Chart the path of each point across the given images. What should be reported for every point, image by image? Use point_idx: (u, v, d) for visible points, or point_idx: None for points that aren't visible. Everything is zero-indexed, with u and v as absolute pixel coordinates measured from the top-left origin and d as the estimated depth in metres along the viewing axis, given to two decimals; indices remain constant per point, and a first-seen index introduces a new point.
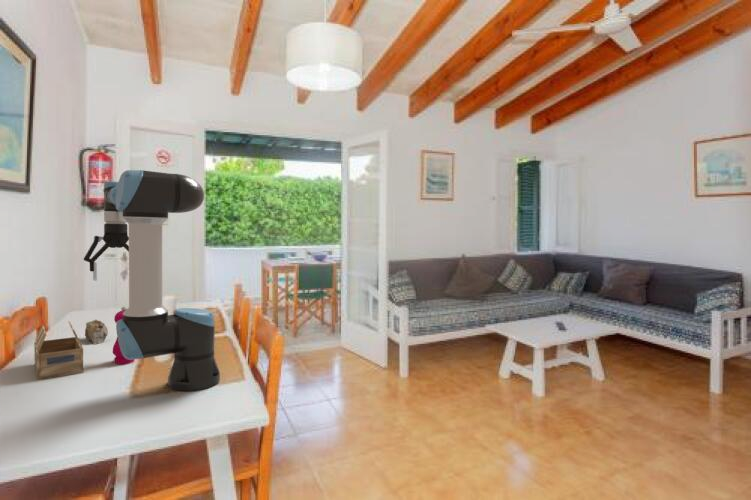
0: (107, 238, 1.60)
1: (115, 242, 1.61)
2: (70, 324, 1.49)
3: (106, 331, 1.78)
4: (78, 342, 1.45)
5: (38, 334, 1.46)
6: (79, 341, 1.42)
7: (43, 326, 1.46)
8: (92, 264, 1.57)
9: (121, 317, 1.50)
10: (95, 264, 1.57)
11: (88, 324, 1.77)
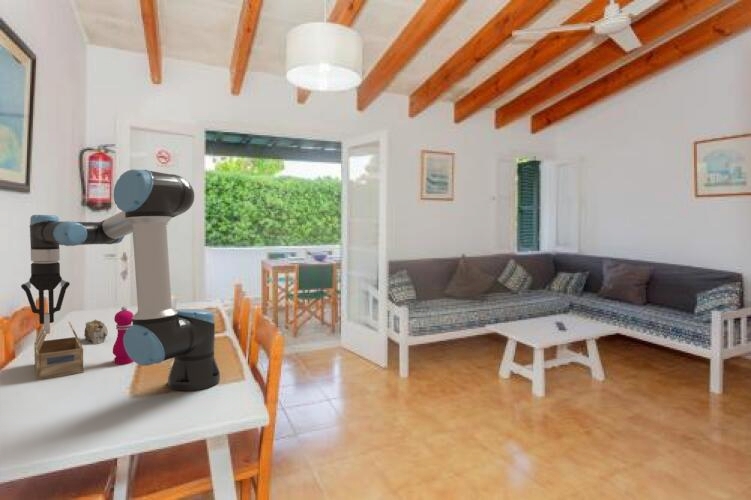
0: (34, 280, 1.39)
1: (44, 284, 1.40)
2: (70, 324, 1.49)
3: (106, 331, 1.78)
4: (78, 342, 1.45)
5: (38, 334, 1.46)
6: (79, 341, 1.42)
7: (43, 326, 1.46)
8: (42, 316, 1.41)
9: (121, 317, 1.50)
10: (45, 316, 1.41)
11: (88, 324, 1.77)
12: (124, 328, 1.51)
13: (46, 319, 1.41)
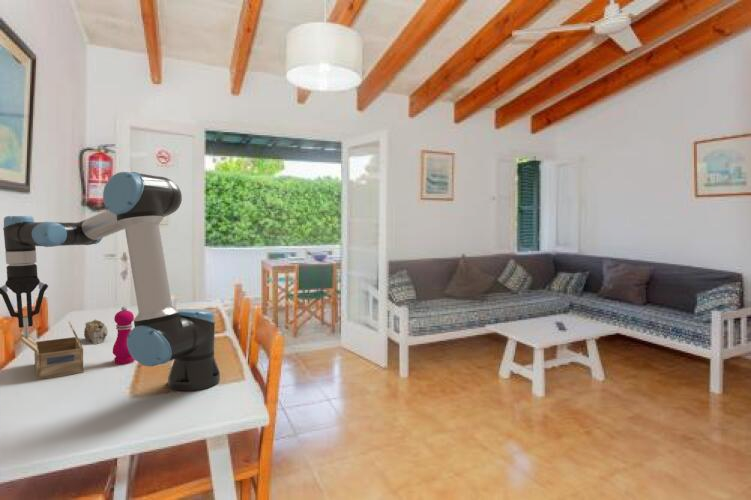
0: (10, 283, 1.35)
1: (21, 287, 1.37)
2: (70, 324, 1.49)
3: (106, 331, 1.78)
4: (78, 342, 1.45)
5: None
6: (79, 341, 1.42)
7: (21, 331, 1.42)
8: (21, 319, 1.38)
9: (121, 317, 1.50)
10: (24, 319, 1.38)
11: (88, 324, 1.76)
12: (124, 328, 1.51)
13: (24, 323, 1.38)
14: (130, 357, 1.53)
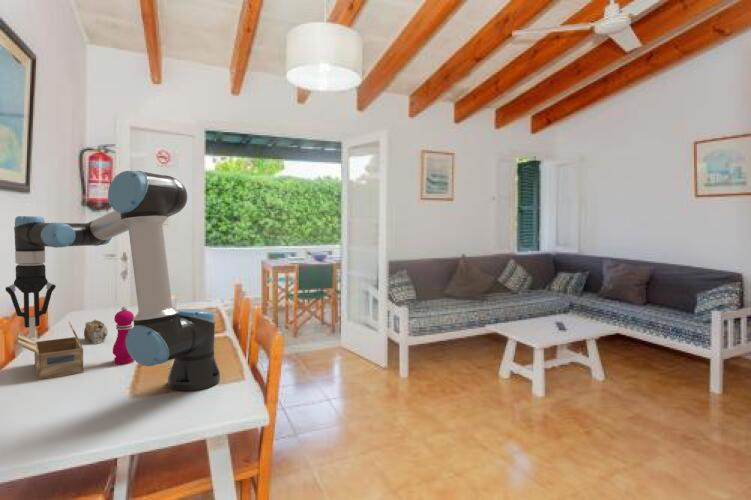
0: (19, 282, 1.36)
1: (29, 287, 1.38)
2: (70, 324, 1.49)
3: (106, 331, 1.78)
4: (78, 342, 1.45)
5: (26, 339, 1.44)
6: (79, 341, 1.42)
7: (17, 334, 1.41)
8: (27, 319, 1.38)
9: (121, 317, 1.50)
10: (30, 319, 1.38)
11: (88, 324, 1.76)
12: (124, 328, 1.51)
13: (31, 322, 1.38)
14: (130, 357, 1.53)
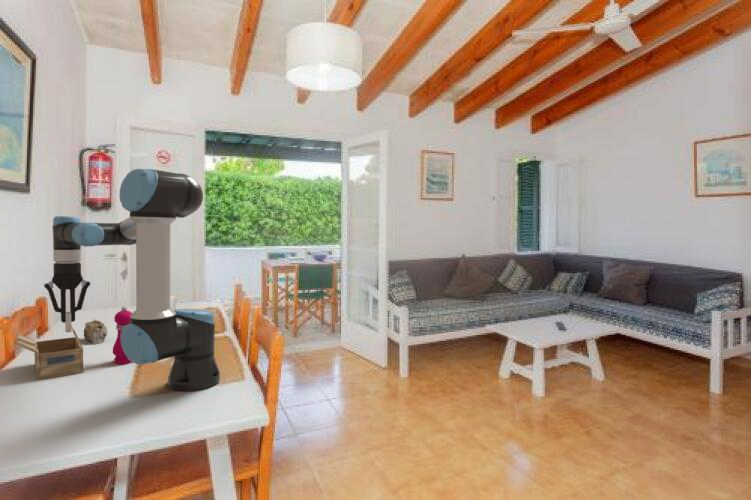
0: (57, 279, 1.42)
1: (66, 284, 1.44)
2: None
3: (106, 331, 1.78)
4: (78, 342, 1.45)
5: (26, 339, 1.44)
6: (79, 341, 1.42)
7: (17, 335, 1.41)
8: (63, 314, 1.44)
9: (121, 317, 1.50)
10: (67, 314, 1.44)
11: (87, 324, 1.76)
12: None
13: (68, 318, 1.45)
14: None
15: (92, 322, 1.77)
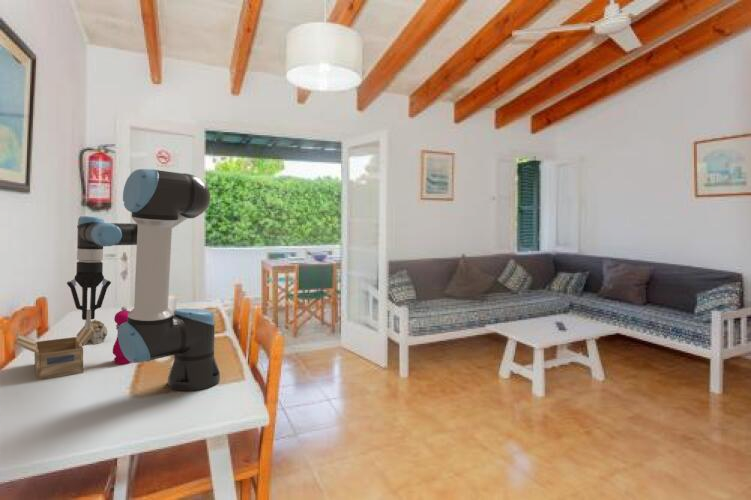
0: (79, 278, 1.46)
1: (88, 282, 1.48)
2: None
3: (106, 331, 1.78)
4: (81, 341, 1.45)
5: (26, 339, 1.44)
6: (86, 341, 1.43)
7: (17, 335, 1.41)
8: (85, 312, 1.48)
9: (121, 317, 1.50)
10: (88, 312, 1.48)
11: None
12: None
13: (88, 315, 1.48)
14: None
15: (92, 322, 1.77)
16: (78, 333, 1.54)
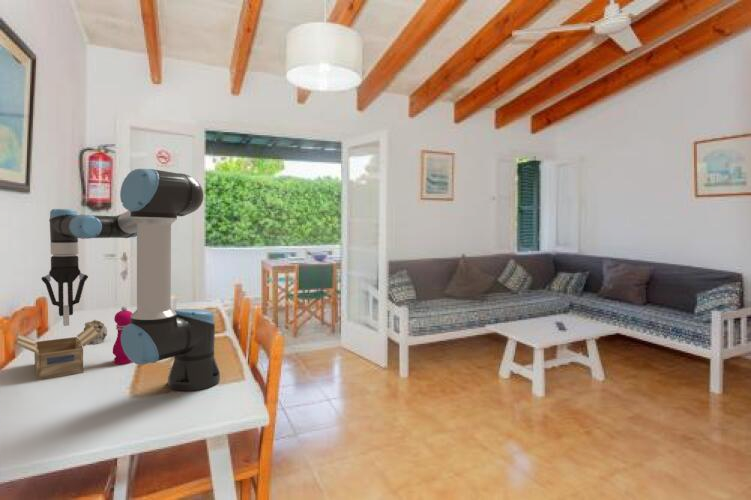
0: (54, 272, 1.42)
1: (64, 277, 1.43)
2: None
3: (106, 331, 1.78)
4: (82, 342, 1.45)
5: (26, 339, 1.44)
6: None
7: (17, 335, 1.41)
8: (61, 308, 1.44)
9: (121, 317, 1.50)
10: (64, 308, 1.44)
11: (87, 324, 1.76)
12: None
13: (66, 311, 1.44)
14: None
15: (92, 322, 1.77)
16: (79, 334, 1.55)
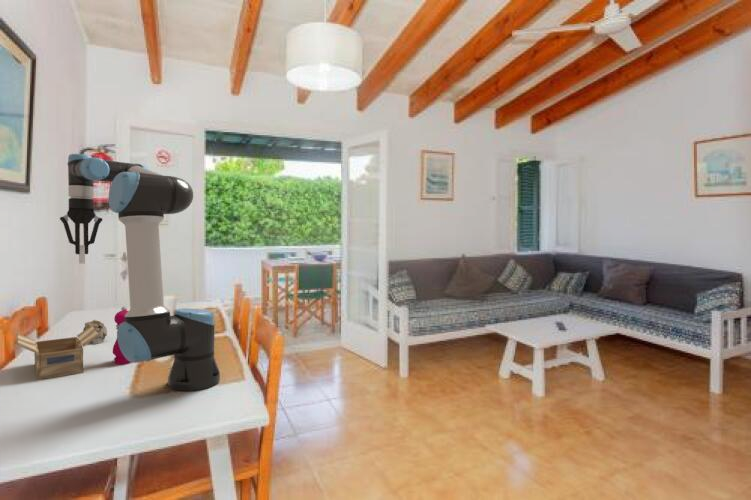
0: (71, 213, 1.53)
1: (80, 218, 1.55)
2: None
3: (105, 331, 1.78)
4: (82, 342, 1.45)
5: (26, 339, 1.44)
6: None
7: (17, 335, 1.41)
8: (78, 247, 1.55)
9: (121, 317, 1.50)
10: (81, 247, 1.55)
11: (87, 324, 1.76)
12: None
13: (82, 250, 1.55)
14: None
15: (92, 322, 1.77)
16: (79, 334, 1.55)
